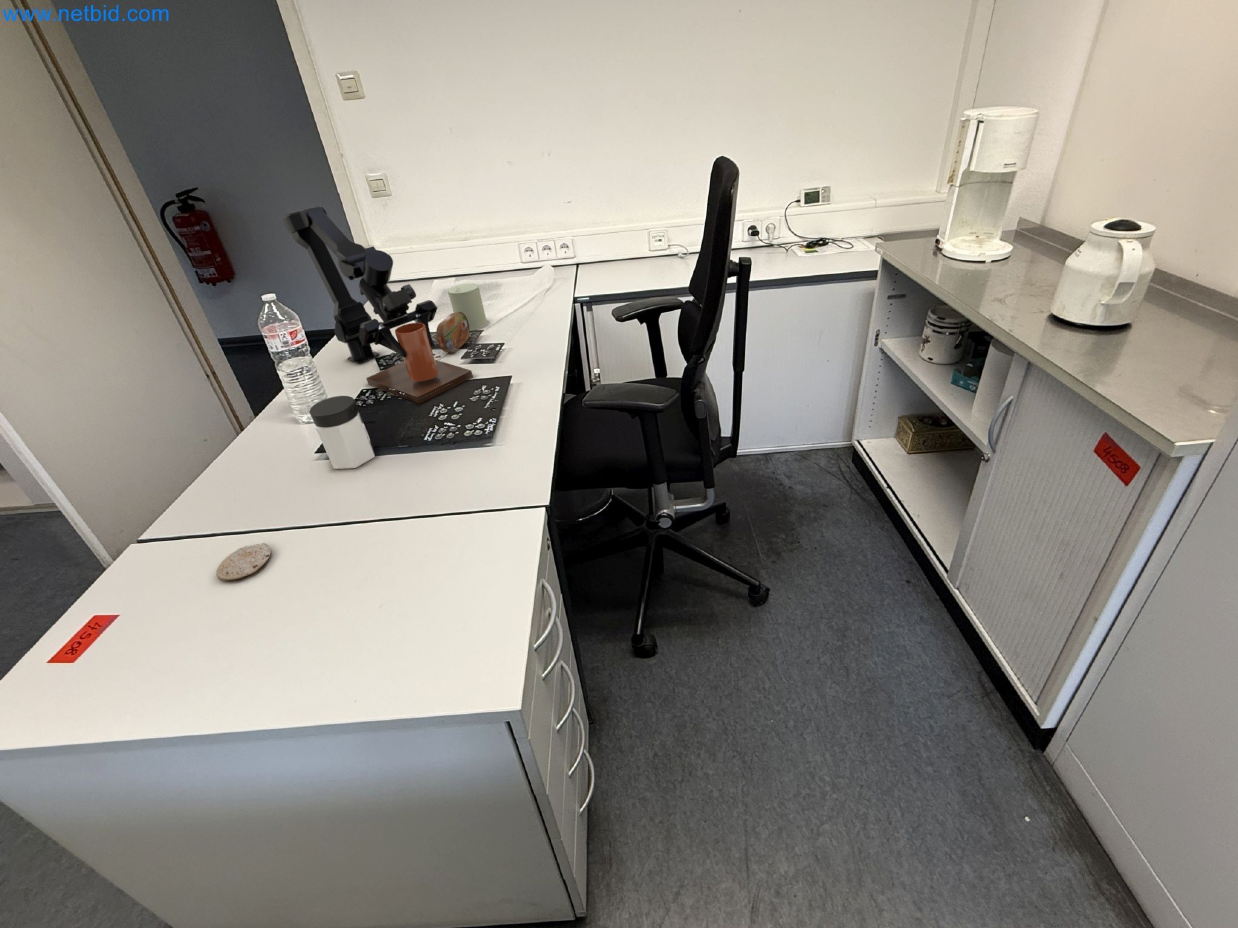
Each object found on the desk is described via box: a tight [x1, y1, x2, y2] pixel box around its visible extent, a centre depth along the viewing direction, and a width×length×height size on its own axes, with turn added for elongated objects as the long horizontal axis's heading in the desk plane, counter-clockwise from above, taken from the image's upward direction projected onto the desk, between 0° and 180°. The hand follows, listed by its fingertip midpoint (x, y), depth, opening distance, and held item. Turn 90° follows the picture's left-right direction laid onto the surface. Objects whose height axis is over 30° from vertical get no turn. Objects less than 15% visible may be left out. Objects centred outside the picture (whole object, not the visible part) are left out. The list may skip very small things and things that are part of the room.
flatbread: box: [215, 542, 272, 581], centre depth 92 cm, size 8×8×1 cm
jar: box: [309, 395, 376, 470], centre depth 113 cm, size 9×8×12 cm
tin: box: [435, 312, 471, 353], centre depth 161 cm, size 15×3×8 cm, turn 168°
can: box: [447, 282, 488, 332], centre depth 173 cm, size 9×9×12 cm
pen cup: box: [394, 322, 438, 382], centre depth 137 cm, size 7×7×12 cm
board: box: [365, 359, 474, 405], centre depth 145 cm, size 22×16×2 cm
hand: (419, 351), depth 136 cm, fingers closed on pen cup, 7 cm apart
